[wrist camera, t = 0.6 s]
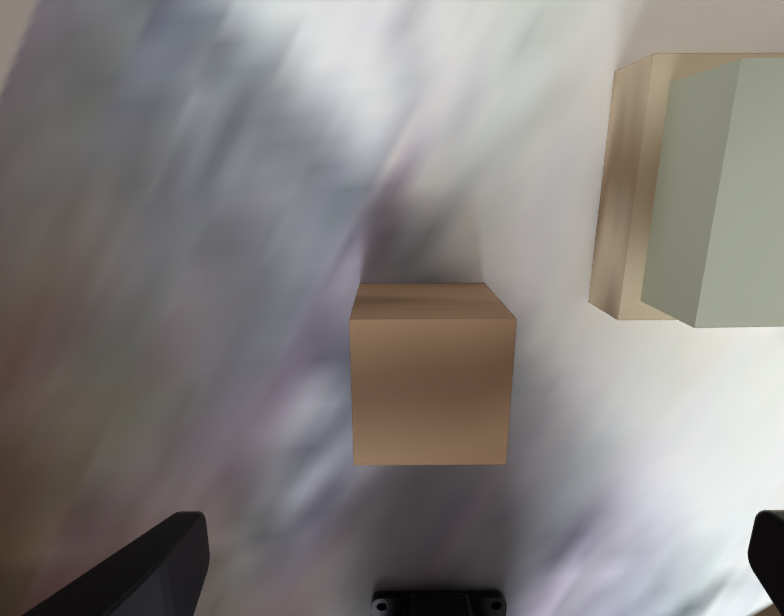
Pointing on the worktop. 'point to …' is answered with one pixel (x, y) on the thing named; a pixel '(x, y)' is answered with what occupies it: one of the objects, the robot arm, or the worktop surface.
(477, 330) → the walnut cube
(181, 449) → the worktop surface
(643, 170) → the birch base block
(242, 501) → the worktop surface
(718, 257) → the sage top block
